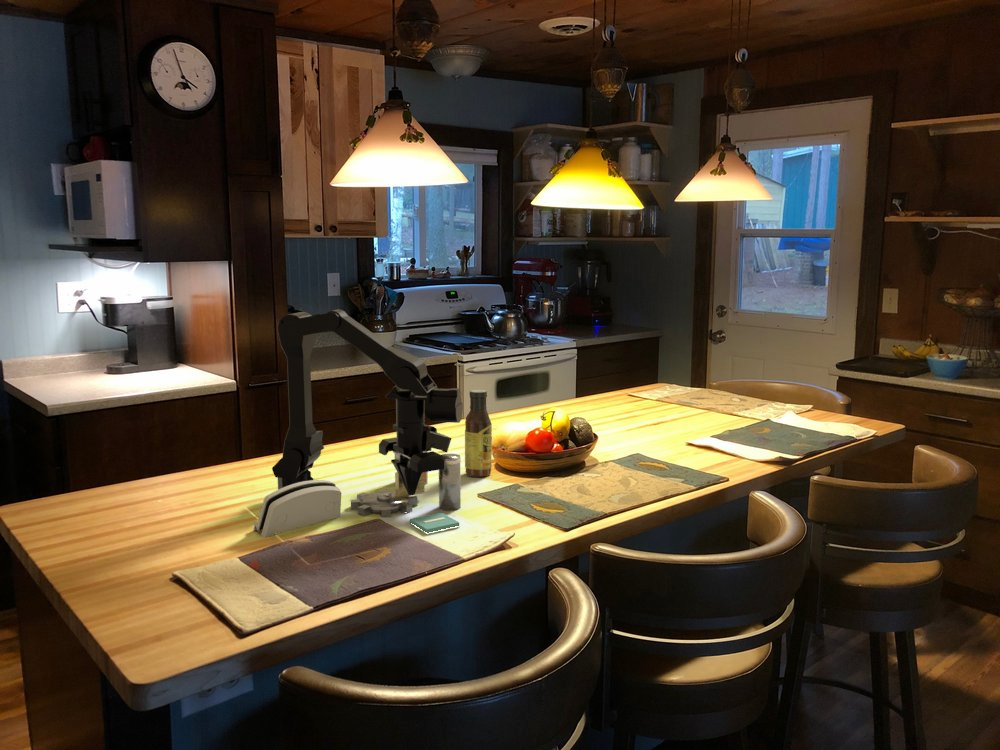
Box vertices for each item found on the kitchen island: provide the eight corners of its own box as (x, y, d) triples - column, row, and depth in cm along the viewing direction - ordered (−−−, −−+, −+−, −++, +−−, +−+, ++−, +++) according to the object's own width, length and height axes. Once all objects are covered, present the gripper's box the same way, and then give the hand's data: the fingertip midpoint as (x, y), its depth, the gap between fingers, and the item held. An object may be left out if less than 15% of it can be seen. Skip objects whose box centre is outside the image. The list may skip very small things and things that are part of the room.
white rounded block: (327, 511, 171) (335, 469, 167) (340, 524, 168) (347, 482, 164) (251, 530, 160) (257, 486, 156) (263, 544, 157) (269, 500, 153)
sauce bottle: (488, 478, 194) (488, 394, 191) (462, 477, 195) (461, 393, 192) (494, 471, 200) (494, 388, 197) (468, 469, 202) (468, 388, 198)
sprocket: (368, 521, 165) (367, 489, 164) (341, 503, 176) (340, 473, 175) (438, 507, 173) (437, 476, 172) (408, 490, 184) (408, 462, 183)
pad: (427, 535, 158) (426, 528, 157) (409, 524, 163) (409, 518, 163) (459, 528, 161) (459, 521, 161) (441, 518, 167) (441, 511, 167)
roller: (445, 513, 170) (445, 460, 168) (435, 507, 174) (434, 455, 172) (464, 509, 173) (464, 457, 171) (453, 503, 176) (453, 452, 174)
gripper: (468, 424, 167) (468, 500, 169) (424, 408, 182) (425, 477, 185) (418, 431, 161) (419, 509, 163) (377, 413, 176) (378, 485, 179)
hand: (411, 494), depth 173 cm, fingers closed
